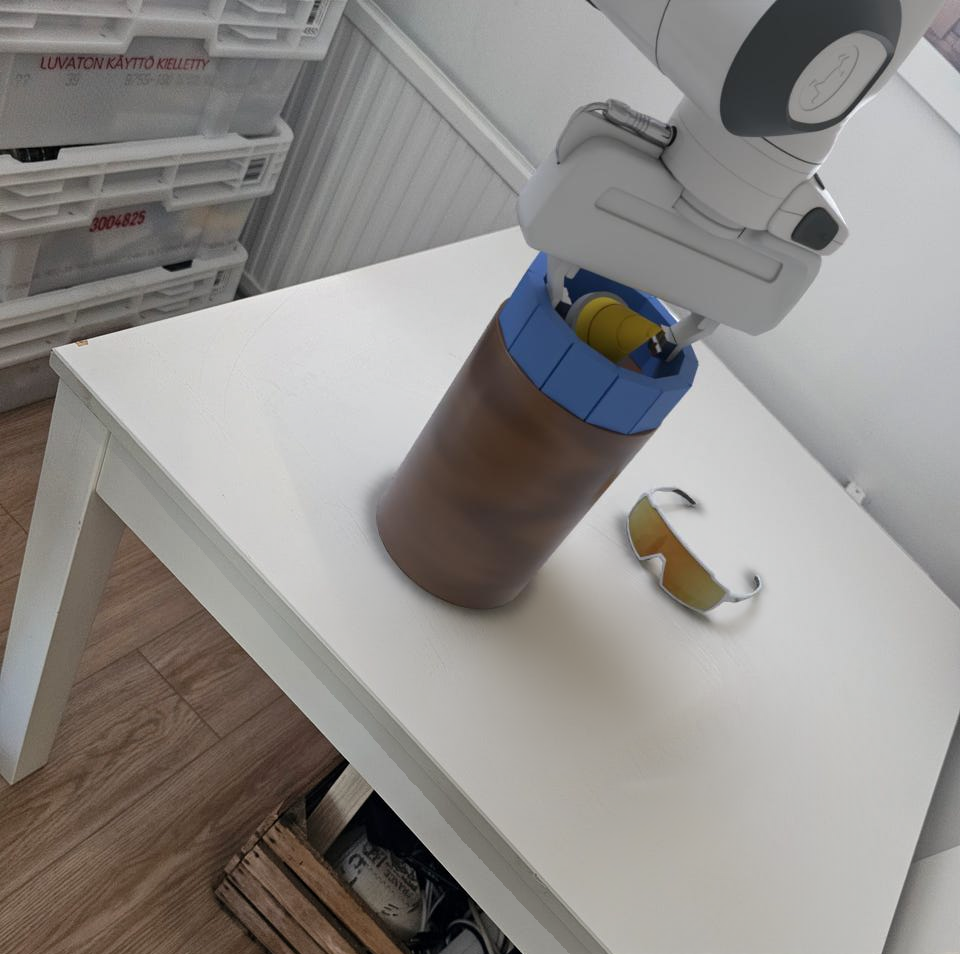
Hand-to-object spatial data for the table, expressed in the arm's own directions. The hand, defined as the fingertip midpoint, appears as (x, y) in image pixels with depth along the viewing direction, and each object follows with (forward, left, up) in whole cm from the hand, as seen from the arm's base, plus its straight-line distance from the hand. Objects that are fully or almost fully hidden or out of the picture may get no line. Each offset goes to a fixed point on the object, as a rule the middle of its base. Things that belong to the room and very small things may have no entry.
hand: (603, 335), depth 71 cm
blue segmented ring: (0, 0, -2) cm, 2 cm away
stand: (0, 0, -22) cm, 22 cm away
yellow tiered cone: (0, -1, -3) cm, 3 cm away
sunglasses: (+27, +5, -23) cm, 36 cm away
